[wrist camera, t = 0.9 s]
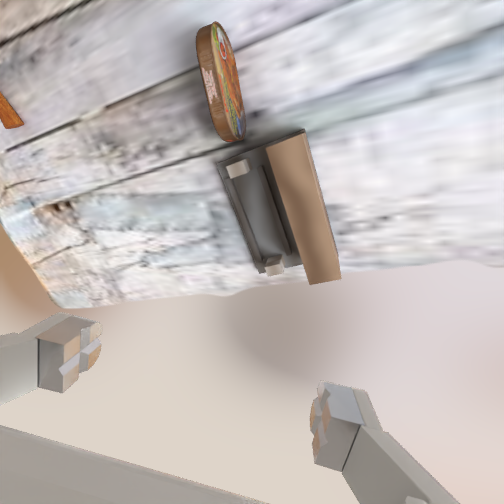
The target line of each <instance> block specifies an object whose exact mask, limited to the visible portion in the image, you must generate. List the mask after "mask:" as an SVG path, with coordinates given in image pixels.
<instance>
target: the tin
mask: <svg viewBox="0 0 504 504" xmlns="http://www.w3.org/2000/svg"><path fill="white" fill-rule="evenodd" d="M196 50H197V57H198V62H199V66H200V71H201V75H202V79H203V84H204V88H205V93H206V97H207V101H208V105H209V110H210V114H211V118H212V121H213V124H214V127H215V129H216V131H217V133H218V135H219V136H220V137H221V138H222V140H224V141H226V142H232V141H237V140H243V138H244V136H245V131H246V120H245V113H244V107H243V102H242V96H241V91H240V85H239V79H238V74H237V68H236V63H235V58H234V54H233V51H232V47H231V44H230V41H229V39H228V37H227V35H226V32H225V31H224V29H223V27H222V26H221V25H220V24H219V23H218V22H213V23H212V24H210V25H207V26H205V27H203V28H201V29H199V31H198V33H197V36H196Z"/></svg>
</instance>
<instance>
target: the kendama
mask: <svg viewBox="0 0 504 504" xmlns="http://www.w3.org/2000/svg"><path fill="white" fill-rule="evenodd" d="M0 119H1V121H2V123H3V125H4V127H5V128H6V129H11V128H16V127H20V126H22V125H24V123H23V121H22V120H21V119H20V117H19V116H18V115H17V114H16V112H15V111H14V110H13V108H12V107H11V106H10V104H9V103H8V102H7V100H6V99H5V98H4V96H3V95H2V94H1V92H0Z"/></svg>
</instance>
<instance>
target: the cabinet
mask: <svg viewBox="0 0 504 504" xmlns="http://www.w3.org/2000/svg"><path fill="white" fill-rule="evenodd" d="M216 165H217V167H218V170H219V172H220V175H221V178H222V180H223V183H224V185H225V188H226V190H227V193H228V195H229V198H230V200H231V203H232V206H233V208H234V211H235V213H236V216H237V218H238V221H239V223H240V226H241V228H242V231H243V234H244V236H245V239H246V241H247V244H248V246H249V249H250V251H251V254H252V256H253V259H254V262H255V264H256V267H257V269H258V272H259V274H260V273H265V272H266V273H267V275H268V276H273V275H278V274H282V273H283V272H284V268H288V267H293V266H297V265H302V264H303V266H304V269H305V272H306V275H307V278H308V281H309V284H310V285H312V284H318V283H323V282H328V281H333V280H339V279H341V273H340V266H339V259H338V252H337V248H336V244H335V241H334V237H333V233H332V229H331V226H330V222H329V218H328V215H327V211H326V207H325V203H324V200H323V196H322V192H321V188H320V185H319V181H318V177H317V173H316V170H315V166H314V162H313V158H312V155H311V151H310V147H309V144H308V140H307V136H306V132H305V129H303V130H301V131H298V132H296V133H293V134H291V135H288V136H286V137H283V138H280V139H278V140H275V141H273V142H270V143H268V144H265V145H263V146H260V147H258V148H255V149H253V150H250V151H247V152H245V153H242V154H240V155H237V156H235V157H232V158H230V159H227V160H225V161H222V162H220V163H217V164H216Z"/></svg>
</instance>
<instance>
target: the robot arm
mask: <svg viewBox="0 0 504 504" xmlns="http://www.w3.org/2000/svg"><path fill="white" fill-rule="evenodd" d="M101 334H102V324H101V323H99V322H96V321H93V320H89V319H86V318H82V317H79V316H74V315H71V314H68V313H63V312H59V313H56V314H55V315H53V316H51V317H49V318H47V319H46V320H43V321H41V322H40V323H38V324H36V325H34V326H32V327H30V328H29V329H27V330H25V331H23V332H21V333H19V334H18V333H10V334H6V335H1V336H0V405H2V404H4V403H7V402H9V401H11V400H13V399H16V398H18V397H20V396H22V395H25V394H27V393H29V392H31V391H33V390H36V389H37V388H38V387H39V388H43V389H48V390H51V391H55V392H59V393H63V392H64V391H66V390H67V389H68V388H69V387H70V386H71V385H72V384H73V383H74V382H75V381H77V380H78V377H79V373H81V372H84V371H87V370H88V369H89V368H90V367H92V366H93V365H94V363H95V362H96V360H97V358H98V357H99V353H100V351H101V343H100V341H99V339H98V337H99V336H100V335H101ZM317 392H318V397H317V398H316V399H314V400H313V404H312V407H311V413H310V429H311V432H312V433H313V434H314V439H313V442H312V446H313V455H314V462H315V464H317V465H321V466H324V467H327V468H330V469H333V470H337V471H340V472H342V475H343V476H344V478H345V480H346V482H347V483H348V485H349V486H350V488H351V490H352V491H353V493H354V495H355V496H356V498H357V500H358V501H359V503H360V504H460V503H459V502H458V501H457V500H456V499H455V498H454V497H453V496H452V495H451V494H450V493H449V492H448V491H447V490H446V489H445V488H444V487H443V486H442V485H441V484H440V483H439V482H438V481H437V480H436V479H435V478H434V477H432V475H431V474H430V473H429V472H428V471H427V470H425V468H424V467H423V466H422V465H421V464H419V463H418V462H417V461H416V460H415V459H414V458H413V457H412V456H411V455H410V454H409V453H408V452H407V451H406V450H405V449H404V448H403V447H402V446H401V445H400V444H399V443H398V442H397V441H396V440H395V439H394V438H393V437H392V436H391V435H390V434H389V433H388V432H384V431H383V429H382V427H381V425H380V422H379V420H378V418H377V415H376V413H375V410H374V408H373V406H372V403H371V401H370V399H369V396H368V394H367V392H366V391H365V390H362V389H357V388H353V387H347V386H343V385H339V384H334V383H331V382H327V381H323V380H321V381H320V383H319V385H318V388H317ZM0 504H269V503H265V502H262V501H259V500H255V499H252V498H248V497H245V496H242V495H238V494H235V493H231V492H228V491H225V490H221V489H218V488H214V487H211V486H208V485H204V484H201V483H197V482H194V481H191V480H187V479H184V478H180V477H177V476H173V475H170V474H166V473H163V472H160V471H156V470H153V469H149V468H146V467H142V466H139V465H136V464H132V463H129V462H125V461H122V460H118V459H115V458H111V457H108V456H105V455H101V454H97V453H94V452H91V451H87V450H84V449H80V448H77V447H74V446H70V445H66V444H63V443H59V442H57V441H53V440H49V439H46V438H43V437H39V436H36V435H33V434H29V433H26V432H22V431H18V430H15V429H12V428H8V427H5V426H1V425H0Z"/></svg>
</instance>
